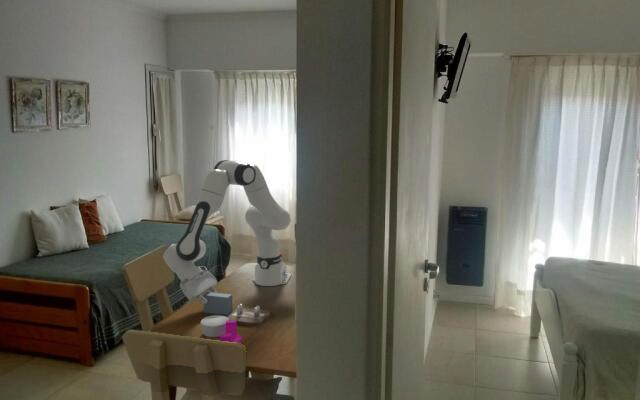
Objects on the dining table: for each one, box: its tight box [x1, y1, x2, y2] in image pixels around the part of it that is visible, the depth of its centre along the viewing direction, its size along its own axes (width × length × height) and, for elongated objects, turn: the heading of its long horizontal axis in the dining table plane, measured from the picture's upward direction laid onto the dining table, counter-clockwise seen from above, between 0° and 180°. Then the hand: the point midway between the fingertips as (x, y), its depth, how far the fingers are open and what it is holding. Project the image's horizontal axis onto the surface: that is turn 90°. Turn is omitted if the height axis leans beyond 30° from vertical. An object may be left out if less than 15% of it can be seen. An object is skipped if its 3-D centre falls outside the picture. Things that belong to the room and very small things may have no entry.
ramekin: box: [200, 315, 229, 338], centre depth 209 cm, size 11×11×5 cm
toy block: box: [219, 320, 243, 344], centre depth 196 cm, size 15×6×8 cm, turn 1°
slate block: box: [202, 291, 234, 316], centre depth 231 cm, size 4×12×8 cm, turn 72°
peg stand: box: [226, 303, 273, 328], centre depth 223 cm, size 14×16×6 cm
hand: (212, 299), depth 231 cm, fingers open, 7 cm apart
